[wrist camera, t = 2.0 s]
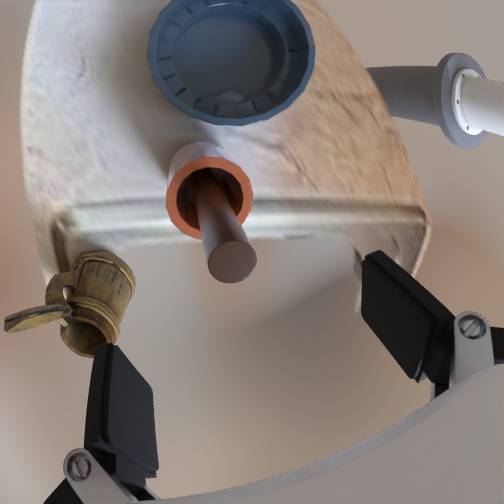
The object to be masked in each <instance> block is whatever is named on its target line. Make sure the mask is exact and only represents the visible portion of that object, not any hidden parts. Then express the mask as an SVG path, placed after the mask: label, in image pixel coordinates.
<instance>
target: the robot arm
mask: <svg viewBox="0 0 504 504" xmlns="http://www.w3.org/2000/svg"><path fill="white" fill-rule="evenodd" d="M451 99H452V108H453V112H454V116H455V118H456V121H457V123H458V125H459V126H460V128H461V129H462V130H463V131H464V132H465V133H468V134H471V135H477V134H479V133H480V132H481V131H482V130H486V131H489V132H492V133H495V134H498V135H502V136H504V82H501V81H495V80H489V79H483V78H481V77H480V75H479V74H478V73H477V72H476V71H474V70H472V69H467V68H464V69H461V70H460V71H458V73H457V74H456V76H455V78H454V80H453V84H452V91H451ZM361 314H362V317H363V319H364V321H365V322H366V323H367V324H368V326H369V327H370V328H371V329H372V331H373V332H374V333H375V334H376V335H377V337H378V338H379V339H380V341H381V342H382V343H383V345H384V346H385V347H386V348H387V350H388V351H389V352H390V353H391V355H392V356H393V357H394V359H395V360H396V361H397V363H398V364H399V365H400V367H401V368H402V369H403V370H404V372H405V373H406V374H407V376H408V377H409V378H410V379H413V378H414V379H415V380H416V382H417V383H419V382H421V381H422V380H424V379H425V378H427V377H428V378H429V380H430V381H431V382H432V386H431V397H430V402H429V403H427V404H426V405H424V406H423V407H421V408H420V409H418V410H416V411H415V412H413V413H411V414H410V415H408V416H407V417H405V418H403V419H402V420H400V421H398V422H397V423H395V424H393V425H392V426H390V427H388V428H386V429H384V430H382V431H381V432H379V433H377V434H375V435H373V436H371V437H369V438H367V439H365V440H363V441H361V442H359V443H357V444H355V445H353V446H351V447H349V448H347V449H344V450H342V451H340V452H338V453H335V454H333V455H331V456H328V457H326V458H324V459H321V460H319V461H316V462H314V463H311V464H308V465H306V466H303V467H300V468H298V469H295V470H292V471H289V472H286V473H283V474H280V475H277V476H274V477H270V478H267V479H263V480H260V481H256V482H253V483H249V484H245V485H241V486H237V487H232V488H228V489H224V490H219V491H214V492H209V493H203V494H197V495H190V496H183V497H176V498H168V499H160V498H159V497H158V496H157V495H156V494H154V493H153V492H152V491H151V490H150V489H149V488H148V487H147V486H146V482H145V478H154V477H157V476H156V471H157V470H158V468H159V463H158V454H157V445H156V434H155V421H154V405H153V392H152V389H151V387H150V385H149V384H148V383H147V382H146V380H145V379H144V378H143V377H142V376H141V374H140V373H139V372H138V371H137V370H136V368H135V367H134V366H133V365H132V363H131V362H130V361H129V360H128V358H127V357H126V356H125V355H124V353H123V352H122V351H121V349H120V348H119V347H118V346H117V345H113V344H112V343H106V344H103V345H99V346H97V347H96V349H95V354H94V360H93V366H92V373H91V379H90V387H89V394H88V403H87V412H86V423H85V437H84V449H83V448H77V449H74V450H72V451H71V452H69V453H68V455H67V456H66V458H65V460H64V465H63V470H64V474H65V477H66V478H65V479H64V480H63V481H62V482H61V484H60V485H59V486H58V487H57V488H56V489H55V490H54V491H53V492H52V494H51V495H50V496H49V497H48V498H47V499H46V500H45V502H44V504H504V328H498V327H489V324H488V321H487V320H486V319H485V317H483V316H482V315H481V314H479V313H477V312H473V311H465V312H462V313H460V314H459V315H458V316H457V317H455V316H454V315H453V314H452V313H451V312H450V311H449V310H448V309H447V308H446V307H445V306H444V305H443V304H442V303H441V302H440V301H438V300H437V299H436V298H435V297H434V296H433V295H432V294H431V293H430V292H429V291H428V290H426V289H425V288H424V287H423V286H422V285H421V284H420V283H419V282H418V281H416V280H415V279H414V278H413V277H412V276H411V275H410V274H408V273H407V272H406V271H405V270H404V269H403V268H401V267H400V266H399V265H398V264H397V263H396V262H394V261H393V260H392V259H391V258H390V257H388V256H387V255H386V254H385V253H384V252H382V251H381V250H377V251H375V252H372V253H370V254H367V255H366V256H365V260H363V261H362V300H361Z"/></svg>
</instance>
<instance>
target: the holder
mask: <svg viewBox="0 0 504 504" xmlns="http://www.w3.org/2000/svg"><path fill="white" fill-rule="evenodd" d="M205 167H210V168H211V170H212V172H213V174H214V176H215V178H216V179H217V181H218V183H219V185H220V187H221V189H222V191H223V193H224V194H225V196H226V198H227V200H228V202H229V204H230V206H231V208H232V209H233V211H234V213H235V215H236V217H237V219H238V221H239V223H240V224H241V225H242V224H243V223H244V221H245V219H246V218H247V216H248V214H249V213H250V210H251V206H252V200H253V191H252V187H251V183H250V180H249V178H248V177H247V175H246V174H245V173H244V171H243V170H242V169H241V168H240V166H239V165H238V164H237V163H236V162H235V161H234V160H232V159H231V158H230V157H229V156H228V155H227V154H226V153H225V152H224V151H223V150H222V149H221V148H220V147H218V146H217V145H215V144H213V143H211V142H207V141H195V142H191V143H188V144H186V145H184V146H183V147H181V148H180V149H179V150H178V151H177V152H176V154H175V155H174V157H173V158H172V161H171V163H170V168H169V176H168V184H167V195H166V208H167V211H168V213H169V216H170V219H171V221H172V223H173V224H174V225H175V226H176V227H177V228H178V229H179V230H180V231H181V232H182V233H184V234H186V235H189V236H191V237H193V238H196V239H201V240H202V237H201V232H200V227H199V222H198V217H197V212H196V207H195V202H194V196H193V191H192V186H191V180H190V174H191V173H192V172H194V171H196V170H199V169H202V168H205Z"/></svg>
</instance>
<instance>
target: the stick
mask: <svg viewBox="0 0 504 504" xmlns="http://www.w3.org/2000/svg"><path fill="white" fill-rule="evenodd" d="M190 180H191V186H192V191H193V196H194V202H195V207H196V212H197V217H198V222H199V227H200V232H201V237H202V241H203V246H204V250H205V255H206V260H207V265H208V269H209V271H210V273H211V275H212V276H213V277H214V278H215V279H217V280H218V281H220V282H224V283H236V282H240V281H242V280H244V279H245V278H247V277H248V276H249V275H250V274H251V273H252V272H253V270H254V268H255V266H256V261H257V258H256V253H255V251H254V249H253V247H252V245H251V243H250V241H249V240H248V238H247V236H246V234H245V232H244V230H243V228H242V226H241V224H240V223H239V221H238V219H237V217H236V215H235V213H234V211H233V209H232V208H231V206H230V204H229V202H228V200H227V198H226V196H225V194H224V193H223V191H222V189H221V187H220V185H219V183H218V181H217V179H216V178H215V176H214V174H213V172H212V170H211V168H210V167H205V168H202V169H199V170H196V171H194V172H192V173H191V174H190Z"/></svg>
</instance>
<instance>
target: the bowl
mask: <svg viewBox="0 0 504 504" xmlns="http://www.w3.org/2000/svg"><path fill="white" fill-rule="evenodd" d="M147 58H148V62H149V66H150V70H151V73H152V77H153V80H154V82H155V83H156V85H157V86H158V87H159V89H160V90H161V92H162V93H163V94H164V96H165V97H166V99H167V100H168V101H169V102H170V103H172V104H173V105H174V106H176V107H177V108H179V109H180V110H181V111H183V112H184V113H186V114H187V115H188V116H190V117H193V118H196V119H199V120H202V121H205V122H208V123H211V124H214V125H231V126H244V125H248V124H252V123H256V122H260V121H265V120H268V119H270V118H271V117H273V116H275V115H276V114H278V113H280V112H282V111H283V110H285V109H287V108H288V107H290V106H291V104H292V103H293V102H294V101H295V100H296V99H297V98H298V97H299V96H300V95H301V94H302V92H303V91H304V90H305V88H306V86H307V83H308V81H309V79H310V77H311V74H312V72H313V70H314V60H315V44H314V40H313V36H312V32H311V28H310V25H309V24H308V22H307V20H306V19H305V17H304V16H303V14H302V13H301V11H300V10H299V8H298V7H297V6H296V5H295V4H294V3H293V2H292V1H290V0H172V1H171V2H170V3H169V4H168V5H167V6H166V7H165V8H164V9H163V10H162V11H161V12H160V14H159V16H158V18H157V20H156V21H155V23H154V25H153V27H152V29H151V31H150V35H149V44H148V53H147Z"/></svg>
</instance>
